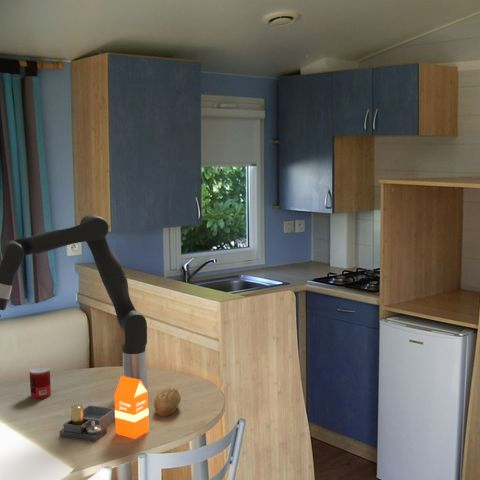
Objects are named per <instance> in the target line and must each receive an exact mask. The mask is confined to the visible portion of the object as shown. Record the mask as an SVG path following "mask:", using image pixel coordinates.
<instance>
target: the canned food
mask: <svg viewBox="0 0 480 480" xmlns="http://www.w3.org/2000/svg"><path fill="white" fill-rule="evenodd" d="M50 369H51V368H50V367H48V366H44V365H43V366H35V367H33V368H31V369H29V386H30V396H31V398H32V399H34V400H42V399H46V398H49V397H50V396H51V395H52V387H51V386H52V385H51V370H50Z"/></svg>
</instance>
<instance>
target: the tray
mask: <svg viewBox="0 0 480 480" xmlns="http://www.w3.org/2000/svg"><path fill="white" fill-rule="evenodd" d="M83 415H84V418H87V419H92V421H95V425H100V426H101V427H107V426H109V425H110V424H112V423H113V422H114V421H115V407H114V408H113V407H107V406H100V405H93V404H88V405H87V406H84V407H83ZM70 418H71V419H72V415H71V417H70ZM71 419H70V420H71Z"/></svg>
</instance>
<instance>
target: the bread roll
mask: <svg viewBox="0 0 480 480" xmlns="http://www.w3.org/2000/svg"><path fill="white" fill-rule="evenodd" d="M181 400H182V398H181V394H180V392H179V390H178V389H176V388H173V389H172V388H163V389H161V390H160V391H159V392H158V393H156V395H155V398H154V401H153V406H154V411H155V413H157V415H159V416H160V417H168V416H170V415H171V414H173V413H174V412H176V410H177V408H178V406H179V405H180V403H181Z"/></svg>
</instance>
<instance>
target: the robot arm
mask: <svg viewBox="0 0 480 480" xmlns="http://www.w3.org/2000/svg"><path fill="white" fill-rule="evenodd" d="M109 227H110V226H109V224H108V222H107V220H106V219H105V218H103V217H101V216H98V215H94V214H88V215H85V216H84V217H82V218H81V221H80V223H79V224H77V225H74V226H72V227H68V228H67V227H66V228H62V229H56V230H55V229H54V230H49V231H44V232H41V233H38V234H34V235H31V236H29V237H22V238H17V239H12V240H8V241H6V242H4V243H3V245H2V246H1V248H0V253H1V256H2V259H1V262H0V311H5V310H6V309H7V306H8V303H9V299H10V297H11V293H12V288H13V285H14V281H15V279H16V275H17V272H18V271H19V269H20V266H21V265H22V262H23V260H24V257H26V256H29V255H34V256H35V255H40V254H42V253H46V252H50V251H53V250H56V249H59V248H62V247H67V246H69V245H74V244H79V243H84V242H86V244H87V247H88V248H89V249H90V253H91V254H92V259H93V261H94V262H95V263H94V264H95V266H96V269H97V271H98V274H99V277H100V279H101V282H102V283H103V286H104V289H105V290H106V293H107V295H108V297H109V300H110V301H111V304H112V305H113V308H114V312H115V315H116V318H117V321H118V325H119V328H120V329H121V330H122V331H123V332H124V343H123V344H122V350H121V351H122V369H123V370H122V371H123V374H122V376H125V377H130V378H134V379H139V380H141V382H142V384H143V385H144V387H145V388H146V390H147V391H148V370H147V369H148V368H147V354H146V353H147V352H146V346H147V343H148V324H147V319H146V317H145V316H144V315H143V314H141V313H140V312H138V311H137V309H136V308H135V306H134V304H133V302H132V299H131V296H130V294H129V292H130V291H129V283H128V279H127V275H126V273H125V270H124V268H123V266H122V263H121V262H120V260H119V258H118V257H117V255H116V254H115V253H114V251H113V250H112V248H111V247H110V245H109V243H108V240H107V238H106V236H107V235H108V233H109V229H110V228H109ZM0 318H1V314H0Z"/></svg>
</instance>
